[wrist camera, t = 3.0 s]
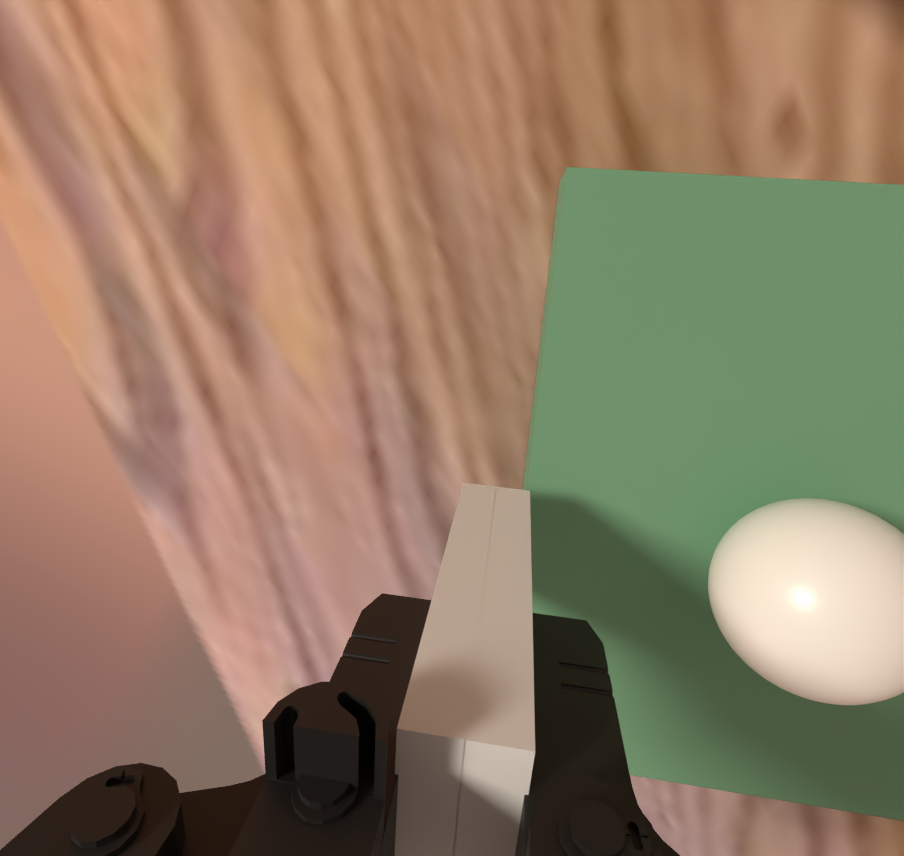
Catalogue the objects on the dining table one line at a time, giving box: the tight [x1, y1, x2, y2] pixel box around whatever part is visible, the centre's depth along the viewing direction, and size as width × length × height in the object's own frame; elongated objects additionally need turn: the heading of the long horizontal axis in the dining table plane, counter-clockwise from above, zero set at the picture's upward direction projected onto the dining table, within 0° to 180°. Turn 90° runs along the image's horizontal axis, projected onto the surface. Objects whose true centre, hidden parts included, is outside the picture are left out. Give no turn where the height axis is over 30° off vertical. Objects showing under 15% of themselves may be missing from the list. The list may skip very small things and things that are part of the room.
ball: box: [708, 498, 904, 705], centre depth 11 cm, size 4×4×4 cm
